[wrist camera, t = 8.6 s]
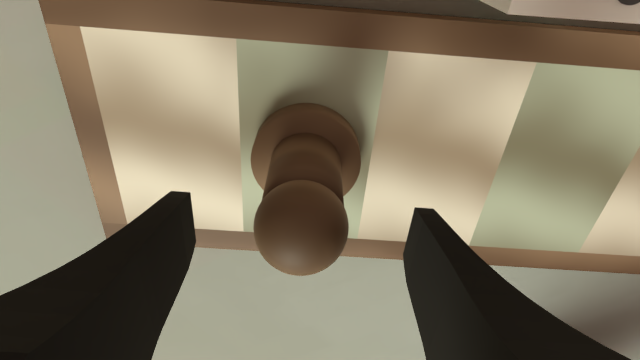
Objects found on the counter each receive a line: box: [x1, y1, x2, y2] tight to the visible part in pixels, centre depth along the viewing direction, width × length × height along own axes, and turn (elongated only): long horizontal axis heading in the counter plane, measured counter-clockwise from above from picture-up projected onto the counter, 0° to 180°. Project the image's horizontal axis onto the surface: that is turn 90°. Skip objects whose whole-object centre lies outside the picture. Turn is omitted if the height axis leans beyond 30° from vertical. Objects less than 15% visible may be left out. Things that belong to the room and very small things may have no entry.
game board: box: [39, 0, 640, 274], centre depth 17 cm, size 11×30×1 cm, turn 86°
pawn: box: [251, 103, 361, 276], centre depth 14 cm, size 4×4×6 cm
